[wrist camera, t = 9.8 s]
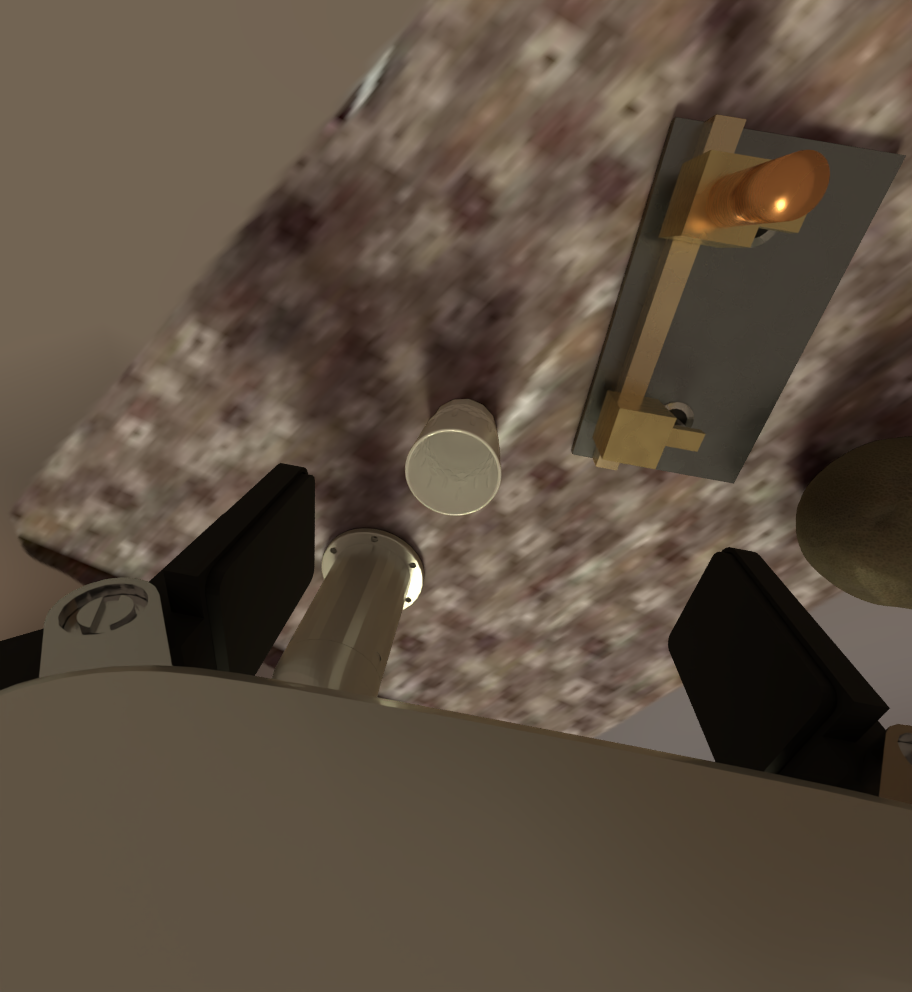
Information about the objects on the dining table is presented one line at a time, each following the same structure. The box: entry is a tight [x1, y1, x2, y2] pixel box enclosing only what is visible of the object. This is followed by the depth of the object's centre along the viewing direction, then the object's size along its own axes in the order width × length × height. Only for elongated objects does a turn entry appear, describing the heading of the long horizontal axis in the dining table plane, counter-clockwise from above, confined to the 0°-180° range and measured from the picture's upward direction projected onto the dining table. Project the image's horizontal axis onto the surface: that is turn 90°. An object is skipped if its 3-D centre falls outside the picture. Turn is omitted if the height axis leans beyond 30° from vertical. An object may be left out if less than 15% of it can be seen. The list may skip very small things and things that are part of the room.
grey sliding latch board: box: [571, 114, 906, 483], centre depth 35 cm, size 26×16×8 cm, turn 172°
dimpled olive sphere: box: [796, 436, 912, 609], centre depth 37 cm, size 14×14×15 cm
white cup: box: [405, 399, 501, 515], centre depth 41 cm, size 8×8×10 cm
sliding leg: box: [659, 150, 830, 248], centre depth 27 cm, size 4×8×14 cm, turn 82°
